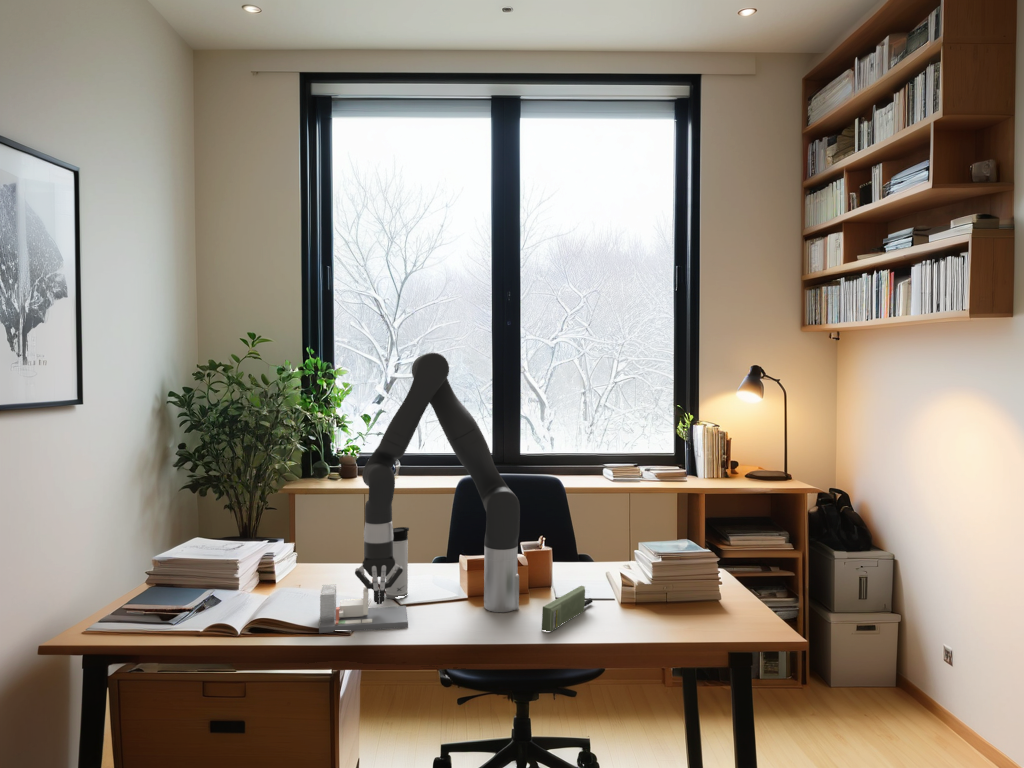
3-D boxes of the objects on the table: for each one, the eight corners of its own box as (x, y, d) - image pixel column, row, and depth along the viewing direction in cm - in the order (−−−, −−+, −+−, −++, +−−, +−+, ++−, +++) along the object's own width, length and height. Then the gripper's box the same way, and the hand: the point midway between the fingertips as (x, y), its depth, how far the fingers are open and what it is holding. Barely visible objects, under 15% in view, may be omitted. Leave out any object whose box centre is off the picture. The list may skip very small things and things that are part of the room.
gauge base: (406, 611, 191) (406, 604, 191) (407, 627, 179) (408, 620, 179) (322, 615, 187) (322, 609, 187) (319, 633, 175) (319, 626, 175)
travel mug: (404, 600, 199) (404, 530, 199) (382, 598, 201) (382, 529, 200) (411, 593, 206) (412, 525, 205) (390, 591, 207) (390, 524, 206)
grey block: (336, 610, 187) (336, 584, 187) (334, 621, 179) (334, 594, 179) (322, 611, 186) (322, 584, 186) (320, 622, 178) (320, 594, 178)
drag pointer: (339, 618, 180) (339, 606, 180) (338, 624, 176) (338, 612, 176) (336, 618, 180) (336, 607, 180) (335, 624, 176) (335, 612, 176)
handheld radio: (539, 631, 178) (585, 603, 199) (550, 634, 176) (595, 606, 197) (540, 605, 178) (586, 580, 198) (551, 608, 176) (596, 583, 197)
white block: (368, 608, 187) (368, 584, 187) (367, 619, 180) (368, 594, 180) (340, 610, 186) (340, 586, 186) (339, 620, 178) (339, 595, 178)
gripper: (403, 533, 189) (404, 597, 190) (353, 536, 187) (354, 600, 187) (404, 540, 182) (405, 606, 182) (352, 543, 179) (353, 610, 180)
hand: (379, 603), depth 185 cm, fingers closed
